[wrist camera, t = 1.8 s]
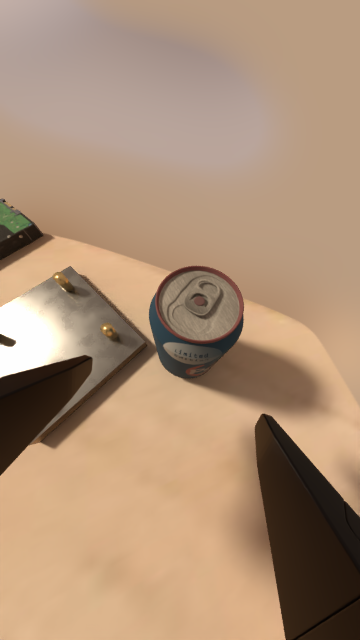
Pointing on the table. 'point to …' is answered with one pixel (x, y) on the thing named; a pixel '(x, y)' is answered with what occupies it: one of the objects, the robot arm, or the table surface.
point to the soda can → (195, 319)
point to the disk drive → (15, 230)
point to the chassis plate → (65, 335)
